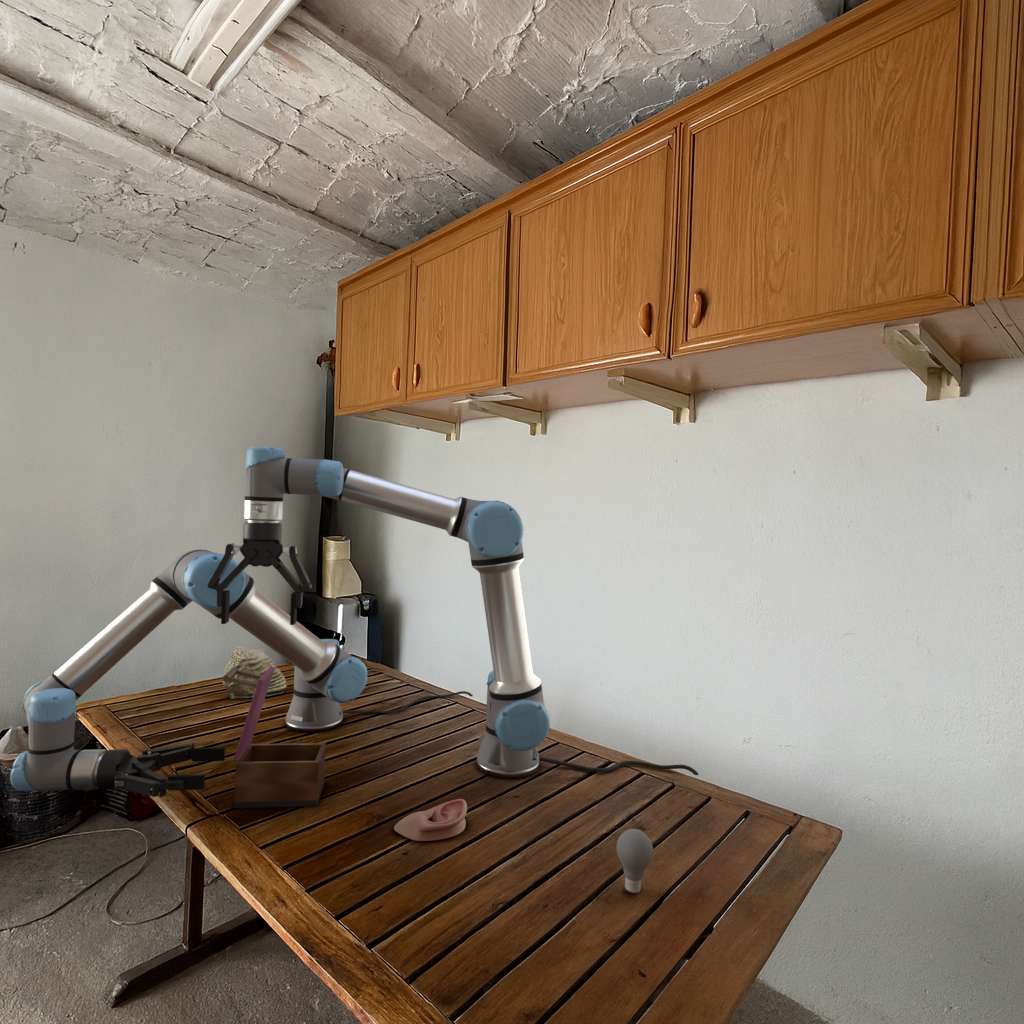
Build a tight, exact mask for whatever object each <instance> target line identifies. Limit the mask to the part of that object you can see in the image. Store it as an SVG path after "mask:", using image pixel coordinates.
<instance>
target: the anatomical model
mask: <svg viewBox="0 0 1024 1024" xmlns="http://www.w3.org/2000/svg"><path fill="white" fill-rule="evenodd" d="M467 804H468V803H467V801H466V800H465V799H463V798H457V799H452V800H449V801H446V802H443V803H440V804H438V805H435V806H434V807H431V808H429V809H426V810H421V811H416V812H413V813H412V812H411V813H409V814H408V815H406V816H405V817H403V818H402V819H400V820H399V821H398V822H397V823H395V825H394V826H393V830H394V831H395V832H396V833H397V834H399V835H401V836H403V837H405V838H407V839H410V840H412V841H416V842H428V841H439V840H445V839H449V838H453V837H455V836H457V835H460V834H461V833H462V832H464V831H465V829H466V826H467V825H466V824H467V822H466V818H465V817H466V816H467V812H468V805H467Z"/></svg>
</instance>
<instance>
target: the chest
mask: <svg viewBox="0 0 1024 1024" xmlns="http://www.w3.org/2000/svg"><path fill="white" fill-rule="evenodd" d="M326 745H327V744H326V742H318V743H317V742H316V743H314V742H313V743H303V742H302V743H250V745H249V746H248V748H247V749H246V751H245V752H244V753H243V755H242V756H241V758H240V759H239V761H236V762H235V773H234V774H235V775H234V776H235V777H234V802H233V809H257V808H258V809H259V808H260V809H261V808H294V807H295V808H296V807H297V808H298V807H300V808H301V807H318V803H319V801H320V798H321V795H322V792H323V789H324V786H325V771H326V749H327V747H326Z"/></svg>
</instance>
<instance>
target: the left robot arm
mask: <svg viewBox="0 0 1024 1024" xmlns="http://www.w3.org/2000/svg"><path fill="white" fill-rule="evenodd" d="M224 555H225V554H223V553H217V552H213V551H210V550H207V549H200V548H199V549H192V550H188V551H187V552H185V553H182V554H181V555H180V556H178V557H177V558H176V559H175V560H173V561H172V562H171V563H170V564H168V566H167V567H166V568H164V569H163V570H162V571H161V572H160V573H159V574H158V575H157V576H155V577H154V578H153V579H152V580H151V581H150V584H149V589H148V590H146V591H145V592H144V593H143V594H142V595H140V596H139V597H138V598H137V599H136V600H135V601H134V602H132V603H131V604H130V605H129V606H128V607H127V608H126V609H124V611H123V612H121V613H120V614H119V615H118V616H116V618H115V619H113V620H112V621H111V622H110V623H109V624H108V625H107V626H105V627H104V628H103V629H102V630H100V632H98V633H97V634H96V635H95V636H94V637H93V638H92V639H90V641H88V642H87V643H86V644H84V646H82V647H81V648H80V649H79V650H78V651H77V652H76V653H75V654H74V655H72V656H71V657H70V658H69V659H68V660H67V661H66V662H65V663H63V664H62V665H61V666H60V667H59V668H58V669H57V670H55V671H54V672H53V673H52V674H51V675H50V676H48V677H47V678H46V679H45V680H42V681H39V682H37V683H35V684H33V685H31V686H30V687H29V688H28V689H27V691H26V692H25V694H24V696H23V701H22V709H23V712H24V714H25V716H26V721H27V725H28V747H27V750H26V751H23V752H21V753H20V754H19V755H18V756H17V757H16V758H15V760H14V761H13V764H12V770H11V771H10V783H11V786H12V787H13V788H14V789H15V790H17V791H19V792H20V791H24V792H36V793H40V792H53V791H55V792H56V791H84V792H86V793H87V792H89V791H91V790H98V789H100V790H115V791H126V792H131V793H136V794H140V795H143V796H147V797H152V798H156V797H165V796H167V791H202V790H204V789H205V783H206V782H205V781H206V774H205V773H199V774H198V773H197V774H194V773H193V774H169V775H168V776H167V777H166V776H164V775H162V774H160V773H158V772H159V771H160V770H161V769H162V768H165V767H168V766H173V765H177V764H180V763H184V762H187V761H191V762H225V760H226V747H225V746H219V747H218V746H217V747H216V746H213V747H212V746H211V747H195V743H194V742H190V743H185V744H178V745H173V746H167V747H166V746H165V747H161V748H154V749H153V748H152V749H143V750H141V755H138V756H132V754H131V752H130V751H129V750H128V749H126V748H125V749H111V748H110V749H108V750H107V749H105V748H104V749H103V748H101V749H100V748H99V749H97V748H95V749H75V732H76V731H75V729H76V711H77V707H78V706H77V701H78V700H79V698H81V697H82V696H83V695H84V694H85V693H86V692H87V691H88V690H89V689H90V688H91V687H93V686H94V685H95V684H96V683H97V682H98V681H99V680H100V679H101V678H102V677H104V675H106V674H107V673H108V672H109V671H110V670H111V669H112V668H113V667H115V666H116V665H117V664H118V663H119V662H120V661H121V660H122V659H123V658H124V657H125V656H127V655H128V654H129V653H130V652H131V651H132V650H133V649H134V648H135V647H137V646H138V644H140V643H141V642H142V641H143V640H145V638H147V636H149V635H150V634H151V633H152V632H153V631H154V630H156V628H157V627H159V625H161V624H162V623H163V622H164V621H165V620H166V619H167V618H168V617H170V616H171V615H172V614H173V613H174V612H175V611H183V610H184V609H185V608H186V607H187V606H188V605H189V604H191V603H192V602H194V603H195V604H197V605H198V606H200V607H201V608H203V609H204V610H205V611H207V612H208V613H209V614H211V615H213V617H215V618H217V619H219V620H221V612H222V607H218V606H217V591H216V590H215V589H212V588H208V586H207V585H208V583H209V581H210V579H211V578H212V576H213V574H214V572H215V571H216V569H217V567H218V565H219V564H220V562H221V560H222V558H223V557H224ZM238 565H239V563H238V562H237V561H236V560H235V559H234V558H232V560H231V562H230V563H229V565H228V567H227V569H226V570H225V572H224V574H223V576H222V577H221V579H220V581H219V583H220V584H221V583H222V582H223V581H224V579H225V578H226V577H227V576H228V575H229V574H230V573H231V572H232V571H233V570H234V569H235V568H236V567H237V566H238ZM255 583H256V582H255V579H254V578H253V577H252V576H250V575H249V574H248V573H247V572H245V570H243V571H242V572H241V573H240V574H239V575H238V577H237V578H236V579H235V580H234V581H233V582H232V583H231V584H230V585H229V586H228V587H227V588H226V589H225V591H226V590H230V604H229V620H231V621H233V622H234V623H236V624H237V625H238V626H240V627H241V628H242V629H244V630H245V631H247V632H248V633H249V634H250V635H252V636H254V637H255V638H256V639H258V640H259V641H261V642H262V643H263V644H264V645H265V646H267V647H269V648H270V649H272V650H273V651H274V652H275V653H276V654H278V655H279V656H280V657H282V658H283V659H285V660H286V661H288V662H289V663H290V664H292V665H293V666H294V672H293V695H292V696H293V697H292V699H291V702H290V704H289V708H288V711H287V713H286V715H285V726H286V728H287V729H289V730H291V731H294V732H295V731H296V732H301V733H316V732H325V731H329V730H332V729H335V728H337V727H339V726H340V725H342V723H343V722H344V714H380V715H381V714H382V715H383V714H385V715H387V714H395V713H399V712H402V711H404V710H405V709H406V708H408V707H410V706H413V705H414V704H415V703H417V702H420V701H423V700H427V699H439V698H450V697H453V696H457V695H463V694H464V695H467V696H469V697H473V696H474V695H473V694H472V693H471V692H469V691H464V690H463V691H456V692H453V693H448V694H438V695H437V694H435V695H427V696H422V697H418V698H416V699H414V700H412V701H411V702H409V703H407V704H405V705H403V706H402V707H399V708H396V709H393V710H366V709H365V710H364V709H363V710H360V709H359V710H352V709H351V710H343V709H342V706H341V704H344V703H349V702H352V701H354V700H355V699H357V698H358V697H359V696H360V695H361V693H362V692H363V691H364V689H365V687H366V684H367V682H368V669H367V666H366V665H365V662H363V661H362V660H361V659H360V658H359V657H355V656H352V655H351V654H350V653H348V652H347V651H346V650H344V649H343V648H342V647H341V646H340V641H339V640H338V639H336V638H323V639H322V638H319V637H318V636H317V635H315V634H314V633H312V632H311V631H310V630H309V629H307V628H306V627H305V626H304V625H302V623H300V622H298V621H297V620H296V623H295V624H294V625H290V615H289V613H287V612H285V611H284V610H283V609H282V608H281V607H280V606H278V605H277V604H275V603H274V602H273V601H271V600H270V599H269V598H268V597H266V596H265V595H264V594H263V593H261V592H260V591H259V590H257V589H256V584H255Z"/></svg>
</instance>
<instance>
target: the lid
mask: <svg viewBox="0 0 1024 1024" xmlns="http://www.w3.org/2000/svg"><path fill="white" fill-rule="evenodd" d="M274 668H275V667H272V666H270V667H269V668H268V670H267V671H266V672H265V673H264V674H263V675H262V676H259V675H255V674H251V673H248V672H244V671H240V670H238V669H237V668H236V667H233V668H231V669H230V670H229V671H228V672H227V673H226V674H225V675H224V674H223V675H224V676H223V675H222V677H221V680H222V682H223V681H224V682H228V681H231V682H235V683H239V684H243V685H247V686H251V687H255V688H256V690H255V693H254V696H253V697H252V700H251V703H250V706H249V708H248V709H249V710H248V712H247V716H246V719H245V721H244V725H243V729H242V732H241V735H240V738H239V741H238V744H237V748H236V750H235V753H234V757H233V761H235V762H237V761H239V759H240V758H241V756H242V755H243V753H244V752H245V751H246V749H247V748H248V746H249V745H250V744H252V741H253V739H254V735H255V732H256V729H257V725H258V722H259V719H260V716H261V712H262V709H263V706H264V704H265V700H266V697H267V696H266V694H267V691H268V688H269V684H270V681H271V678H272V675H273V672H274ZM235 674H238V675H242V676H246V677H250V678H254V679H258V684H257V683H253V682H249V681H245V680H241V679H237V678H233V676H234V675H235Z"/></svg>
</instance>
